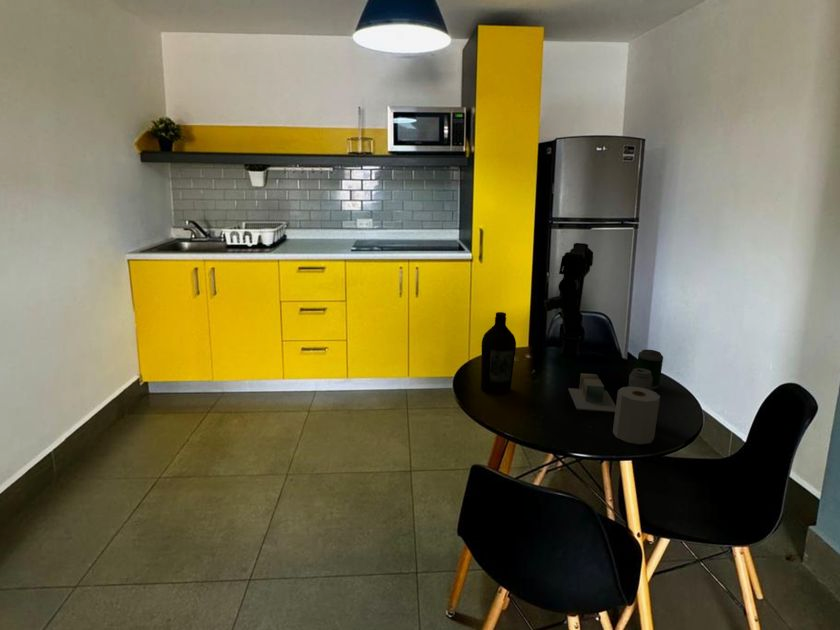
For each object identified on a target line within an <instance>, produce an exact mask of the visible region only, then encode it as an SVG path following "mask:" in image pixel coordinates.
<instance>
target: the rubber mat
mask: <svg viewBox="0 0 840 630" xmlns="http://www.w3.org/2000/svg"><path fill="white" fill-rule="evenodd" d="M567 390H568V392H569V394H570V396H571V399H572V401H573V404H574V406H575V409H576V410H580V411H592V412H593V411H595V412H606V413H607V412H608V413H611V412H612V413H615V410H616V404H615V402H614V400H613V398H612V396H611V395H610V394H609V392H608V391H607V390H604V393H603V402H588V401H585V399H584V397H583V395H582V393H581V391H580V389H579V388H570V387H568V389H567Z"/></svg>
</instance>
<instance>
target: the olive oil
mask: <svg viewBox="0 0 840 630" xmlns="http://www.w3.org/2000/svg"><path fill="white" fill-rule="evenodd" d="M516 348H517V340H516V337H515V335H514V334H513V332H512V331H511V330H510V329H509V328H508V327H507V313H506V312H503V311H499V312H497V311H496V312H495V318H494V325H493V326H492V327H491V328H489V329H488V330H487V331H486V332H485V333H484V334H483V336H482V339H481V355H480V356H481V364H480V365H481V366H480V368H481V370H480V371H481V373H480V390H481V392H483V393H486V394H488V395H494V396H503V395H507V394H509V393H511V389H512V382H513V381H512V380H513V371H514V364H515V363H514V362H515V357H516V350H517V349H516Z"/></svg>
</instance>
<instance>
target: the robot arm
mask: <svg viewBox="0 0 840 630" xmlns="http://www.w3.org/2000/svg"><path fill="white" fill-rule="evenodd" d="M593 262H594V251H593V250H591V249H590V248H589V244H587V243H584V242H583V243H582V242H574V243H573V246H572V248H571V249H570V250H569V251H566V252H564V255H562V256H561V260H560V266H559V270H558V271H559V272H558V274H559V275H562V276H563V277H562V279H561V280H560V282H559V283H558V291H559V295H558V296H554V297H550V298H546V299H543V304H544V307H545V309H546V312H551V311H552V310H555V309H556V310H559V309H560V311H558V312H557V313H558V315H559V317H560V318H561V319H562V320H561V321H562V322H561V323H560V325H559V332H558V333H559V335H558V340H559V341H560V340H562V348H561V351H560V352H559V353H558V356H562V357H564V358H565V357H566V358H570V359H577V357H579V356H580V355H581V352H578V351H579V343H583V342H585V339H586V330H585V328H584V326H583V318H584V317H583V313H581V306H582V298H583V290H584V283H585V278H586V276H587V275H588V274H589V272H590V270H591V267H592V266H593V264H594V263H593Z"/></svg>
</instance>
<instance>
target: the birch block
mask: <svg viewBox="0 0 840 630" xmlns="http://www.w3.org/2000/svg"><path fill="white" fill-rule="evenodd" d="M578 387H579V388H578V389H580V391H581V393H582V395H583V397H584V399H585V401H588V402H603V393H604V391H605V386H604V384H603V382H602V381H601V379H600V378H599V376H598V374H595V373H582V372H581V373H580V377H579V385H578Z"/></svg>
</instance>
